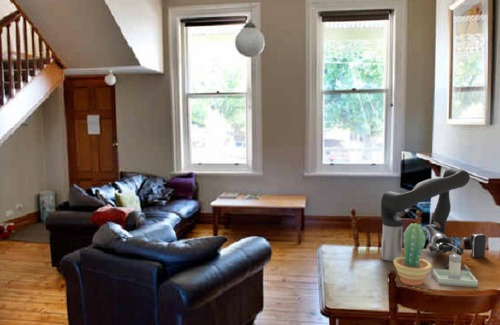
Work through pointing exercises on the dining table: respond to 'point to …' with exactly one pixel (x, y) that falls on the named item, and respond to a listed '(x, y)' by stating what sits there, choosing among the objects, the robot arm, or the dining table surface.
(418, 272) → the potted cactus
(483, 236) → the dark grey block
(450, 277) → the fuse
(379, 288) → the dining table surface
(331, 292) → the dining table surface
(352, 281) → the dining table surface
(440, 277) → the parts tray
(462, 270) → the grey u-shaped bracket
